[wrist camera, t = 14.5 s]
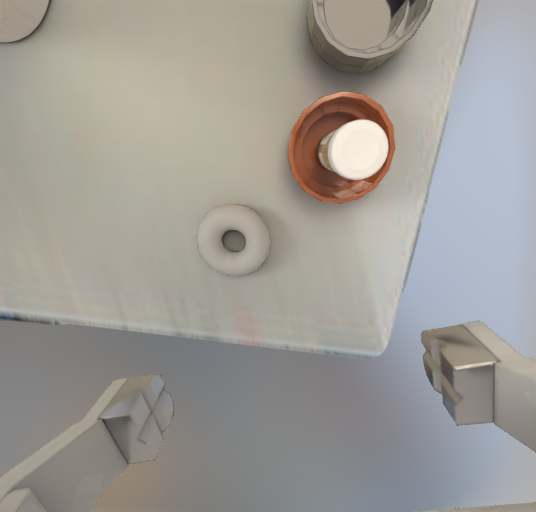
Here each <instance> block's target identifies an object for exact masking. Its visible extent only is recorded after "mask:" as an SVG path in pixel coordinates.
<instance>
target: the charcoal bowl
mask: <svg viewBox="0 0 536 512" xmlns="http://www.w3.org/2000/svg"><path fill="white" fill-rule="evenodd" d="M432 1H433V0H309V3H308V10H307V23H308V29H309V35H310V40H311V42H312V44H313V46H314V47H315V49H316V51H317V52H318V54H319V56H320V57H321V59H322V60H323V61H325V62H326V63H328V64H329V65H331V66H332V67H333V68H335V69H336V70H338V71H345V72H351V73H360V72H363V71H367V70H370V69H373V68H376V67H378V66H379V65H380V64H382V63H383V62H384V61H386V60H387V59H388V58H389V57H391V56H392V55H393V54H394V53H395V52H396V51H398V50H399V49H400V48H401V47H402V46H403V45H404V44H405V43H406V42H407V41H408V40H409V39H410V38H412V37H413V35H414V34H415V33H416V31H417V30H418V28H419V27H420V25H421V23H422V22H423V20H424V19H425V17H426V16H427V14H428V13H429V11H430V8H431V5H432Z"/></svg>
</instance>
